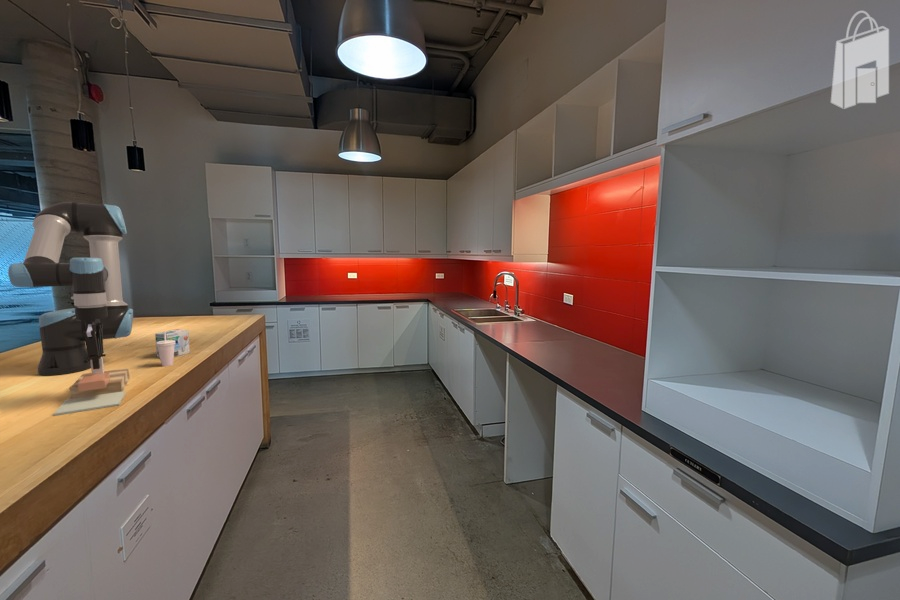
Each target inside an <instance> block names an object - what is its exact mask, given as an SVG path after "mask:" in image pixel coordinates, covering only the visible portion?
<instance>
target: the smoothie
mask: <svg viewBox="0 0 900 600" xmlns="http://www.w3.org/2000/svg"><path fill="white" fill-rule="evenodd" d="M163 332H164V341H159V342H156V341H155V346H157V348H158V352H159V356H160V358H159V360H160V363H161V367H169V366H173V365H174V360H175V359H174V358H175V357H174V345H175V340H166V333H165V332H166V331H163Z"/></svg>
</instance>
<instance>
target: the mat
mask: <svg viewBox="0 0 900 600" xmlns="http://www.w3.org/2000/svg"><path fill="white" fill-rule="evenodd" d="M126 393H127V391H126V390H123V391H122V392H115V393H108V394H101V395H94V396H87V397H80V398H73V399H71V398H68V399H65V400H64V401H63V403H62V404H61V405H60V406H59V407H58V408H57V409H56V410H55V411H54V413H53V417H54V416H61V415H67V414H73V413H80V412H87V411H92V410H93V411H94V410H99V409H105V408H112V407H118V406H120V405H121V403H122V401H123V399H124V397H125V395H126Z"/></svg>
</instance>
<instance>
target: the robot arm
mask: <svg viewBox="0 0 900 600" xmlns="http://www.w3.org/2000/svg"><path fill="white" fill-rule="evenodd" d="M125 222H126V221H125V218H124V215H123V212H122V209H121V208H120V207H119V206H118V205H112V204H106V203H88V202H74V201H64V202H58V203H55V204H52V205H48V206H46V207H45V208H43V209H42V210H40V211H39V212H38V213H37V214H36V215H35V217H34V218H33V222H32V226H33V229H34V231H33V235H32V237H31V241H30V243H29V246H28V248H27V251H26V255H25V257H24V259H23V262H18V263H17V262H15V263H12V264H11V263H10V264H9V266H8V270H7V271H8V272H7V274H8V279H9V282H10V284H11V285H12V286H13V287H15V288H31V289H32V288H43V287H46V288H47V287H72V294H73V295H72V296H71V297H70V299H71V300H73V303H74V304H73V305H74V306H75V308H74V307H72V308H65V309H64V308H63V309H59V310H53V311H49V312H44V313H43V314H41V315H40V316H39V317H38V328H39V336H40V341H41V349H42V351H41V352H42V354H41V357H40V360H39V362H38V365H37V374H38V375H41V376H57V375H58V376H59V375H67V374H71V373H73V374H74V373H77V372H81V371H86V370H88V369H90V371H91V373H92V375H93V374H101V373H104V371H105V370H104V369H105V368H104V367H105V366H104V359H103V357H106V355H107V354H106V353H104V352H105V351H104V340H110V339H115V340H117V339H120V338H127V337H129V336H130V335H131V334H132V330H133V321H134V309H133V308H129V303H127V302H125V301H124V299H123V288H122V287H123V285H122V274H121V261H120V251H119V243H120V241H122V240H123V239H124V238H123V235H124V236H125V235H127V234H128V232H127V228H126V223H125ZM70 233H71V234H72V233H75V234H76V233H78V234H82V237H83V238H84V240H86V241H87V242H88V243H89V244H88V245H89V254H90V255H89V256H90V257H72V258H70V259H69V262H61V263H60V258H61V253H62V250H63V245H64V242H65V238H66V236H68V235H69V234H70Z"/></svg>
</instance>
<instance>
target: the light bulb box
mask: <svg viewBox="0 0 900 600" xmlns="http://www.w3.org/2000/svg"><path fill="white" fill-rule="evenodd" d="M164 332H165V333H166V340H175V345H174V358H175V357H180V356H184V355H186V354H190V338H189V336H190V335H189V330H188V329H181V328H176V329H172V330H167V331H162V332H157V333H154V336H155V343H156V342H159V341H164ZM155 346H156V345H155ZM155 349H156V358H159V359H160V356H159V352H158V348H157V346H156V347H155Z"/></svg>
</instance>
